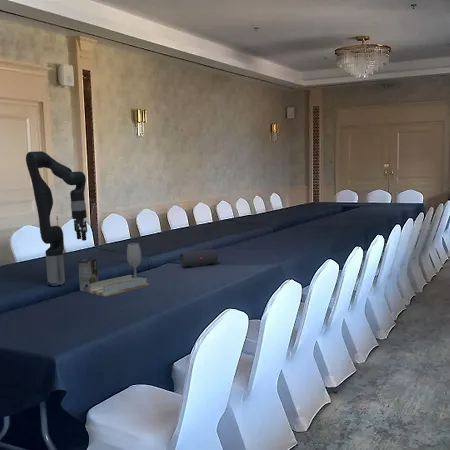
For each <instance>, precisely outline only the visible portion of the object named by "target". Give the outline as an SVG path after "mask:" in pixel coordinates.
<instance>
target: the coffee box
mask: <svg viewBox="0 0 450 450" xmlns="http://www.w3.org/2000/svg"><path fill="white" fill-rule="evenodd" d="M77 267H78V268H77V269H78V278H79V279H78V280H79V281H78V282H79V291H80V292H88V290H87V289H90V288H89V283H94V282H99V275H98V263H97V258H90V257H88V258H84V259H81V260H78V261H77Z"/></svg>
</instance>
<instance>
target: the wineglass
mask: <svg viewBox="0 0 450 450" xmlns="http://www.w3.org/2000/svg"><path fill="white" fill-rule="evenodd" d="M140 246H141V245H140V243H139V242H132V243H128V244H127V247H126V248H127V249H126V260H127V263H128V264H129V265H130V266H131V267H132V268H133V277H132V280H138V279H142V278H143V277H141V276H139V277H138V276H137V274H138V272H137V267H138V266H139V265H141V262H142V257H143V256H142V251H141V247H140Z"/></svg>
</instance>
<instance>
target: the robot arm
mask: <svg viewBox="0 0 450 450" xmlns="http://www.w3.org/2000/svg"><path fill="white" fill-rule="evenodd" d="M25 163H26V167H27V170H28V174H29V177H30V180H31V183H32V190H33V195H34V200H35V204H36V210H37V214H38V215H37V216H38V222H39V224H38V225H39V233H40V238H41V240H42V242H43V243H44V244H45V245H50V246H49V247H48V248H47V249H46V250H45V253H44V254H45V262H46V276H47V277H46V279H47V283H48V282H50V283H57V284H63V283H64V282H65V283H66V277H65V276H66V275H65V263H64V253H63V252H64V248H65V247H64V245H65V243H64V242H65V241H64V239H65V238H64V231H63V228H62V227H60V226H59V225H51V219H50V216H51V213H52V209H53V205H54V199H53V194H52V190H51V188H50V187H49V185H48V184H47V182H46V181H45V180H44V179H43V177H42V175H41V174H40V170H39V169H43V168H45V169H49V170H50V171H51V173H52V174H53V175H54V176H55V177H57V178H59V179H62V181H63V182H64V183H65V184H67V185H68V186H75V188H74V189H72V190H70V192H69V195H70V209H71V211H70V212H71V219H72V220H73V226H74V231H75V233H76V240H81V241H83V242H84V241H87V233H88V225H87V221H86V220H84V219H87V216H88V215H87V206H86V201H85V189H86V182H87V177H86V175H85V173H84V172H83V171H80V170H79V171H72V169H71V167H68V166H67V165H65V164H62V163H60V162H58V161H57V160H55V159H54V158H53V157H51V156H50V155H49V154H48V153H46V152H45V151H39V150H38V151H29V152H27V153H26V155H25Z"/></svg>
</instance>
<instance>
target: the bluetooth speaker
mask: <svg viewBox="0 0 450 450" xmlns="http://www.w3.org/2000/svg"><path fill="white" fill-rule="evenodd" d="M218 260H219V257H218V252H217V249H214V248H213V249H211V248H210V249H198V250H191V251H185V252H181V253H180V254H179V263H180V266H181V267H191V268H198V267H204V266H207V265H208V264H214V263H217V262H218Z"/></svg>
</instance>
